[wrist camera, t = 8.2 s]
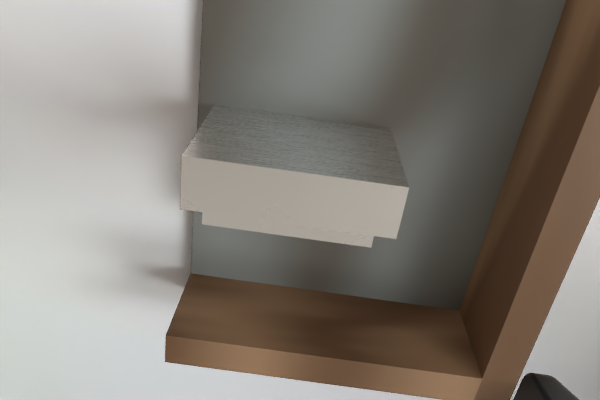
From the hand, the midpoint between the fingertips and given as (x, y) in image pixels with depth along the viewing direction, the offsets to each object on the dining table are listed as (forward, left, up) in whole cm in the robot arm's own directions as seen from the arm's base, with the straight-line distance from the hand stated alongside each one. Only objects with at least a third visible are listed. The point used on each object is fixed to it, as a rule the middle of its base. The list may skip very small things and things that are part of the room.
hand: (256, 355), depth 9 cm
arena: (-3, +1, -11) cm, 11 cm away
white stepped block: (0, +1, -11) cm, 11 cm away
